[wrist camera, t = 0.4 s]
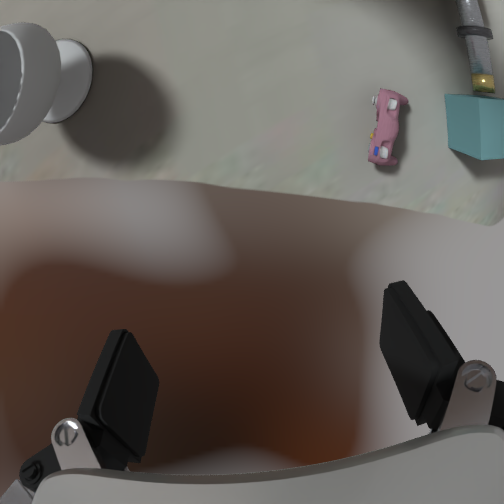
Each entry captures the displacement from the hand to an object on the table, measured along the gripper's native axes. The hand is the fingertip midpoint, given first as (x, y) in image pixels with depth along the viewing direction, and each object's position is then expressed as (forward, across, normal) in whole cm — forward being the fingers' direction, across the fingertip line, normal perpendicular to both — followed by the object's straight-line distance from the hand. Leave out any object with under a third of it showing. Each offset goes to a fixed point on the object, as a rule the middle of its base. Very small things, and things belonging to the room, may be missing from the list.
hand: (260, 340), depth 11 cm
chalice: (+31, +22, -18) cm, 42 cm away
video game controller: (+31, -18, -2) cm, 36 cm away
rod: (+29, -34, -20) cm, 48 cm away
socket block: (+30, -34, -2) cm, 45 cm away
